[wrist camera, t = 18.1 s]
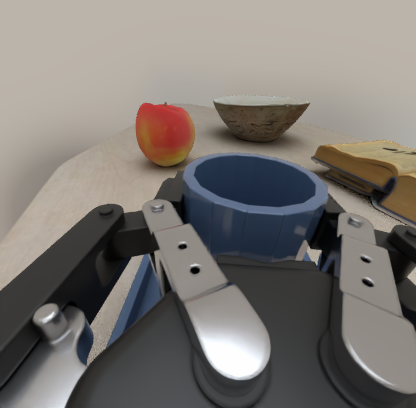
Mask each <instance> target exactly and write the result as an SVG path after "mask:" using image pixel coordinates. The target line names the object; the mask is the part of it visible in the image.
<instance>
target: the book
mask: <svg viewBox="0 0 416 408" xmlns="http://www.w3.org/2000/svg"><path fill="white" fill-rule="evenodd" d="M311 160H313V161H314V162H315V163H319V164H321V165H323V166H326V167H328V168H330V169H331V171H330V173H327V174H326V177H328V178H330V179H333V180H335V181H336V182H339V183H340V184H343V185H345V186H347V187H349V188H350V189H352V190H354V191H356V192H359V193H362V194H364V195H367V196H373V197H371V200H372V204H373V206H375V208H377V209H379V210H381V211H382V212H384V213H386V214H388V215H390V216H392V217H393V218H396V219H398V220H400V221H401V222H403V223H405V224H408V225H409V226H411V227H413V228H415V229H416V149H412V148H408V147H404V146H401V145H399V144H397V143H395V142H391V141H387V140H376V141H372V142H363V143H354V144H338V145H323V146H319V147H318V149H317V151H316V154H315V155H314V157H311ZM375 189H376V190H378V191H381V193H380V192H377V193H376V192H375ZM382 192H383V193H382ZM377 194H379V196H377Z"/></svg>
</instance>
